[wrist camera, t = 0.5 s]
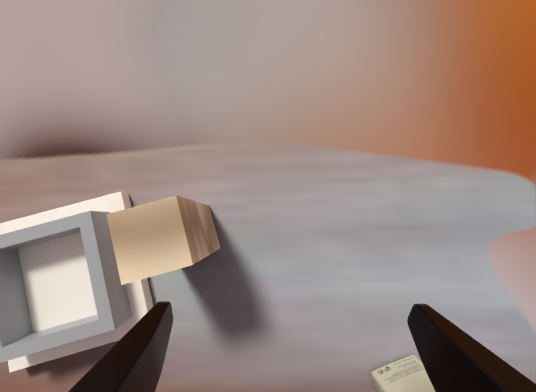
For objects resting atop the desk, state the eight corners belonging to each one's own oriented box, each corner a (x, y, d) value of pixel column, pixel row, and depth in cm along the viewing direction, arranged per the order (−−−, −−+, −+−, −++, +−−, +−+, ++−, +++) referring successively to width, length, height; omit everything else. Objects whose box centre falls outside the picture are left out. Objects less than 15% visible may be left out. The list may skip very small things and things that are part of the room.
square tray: (157, 324, 22) (137, 345, 19) (23, 364, 22) (-26, 392, 18) (128, 193, 23) (103, 187, 20) (0, 227, 23) (-51, 228, 19)
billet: (220, 248, 23) (193, 264, 14) (176, 260, 23) (121, 285, 14) (209, 205, 23) (176, 195, 14) (166, 217, 23) (106, 214, 14)
